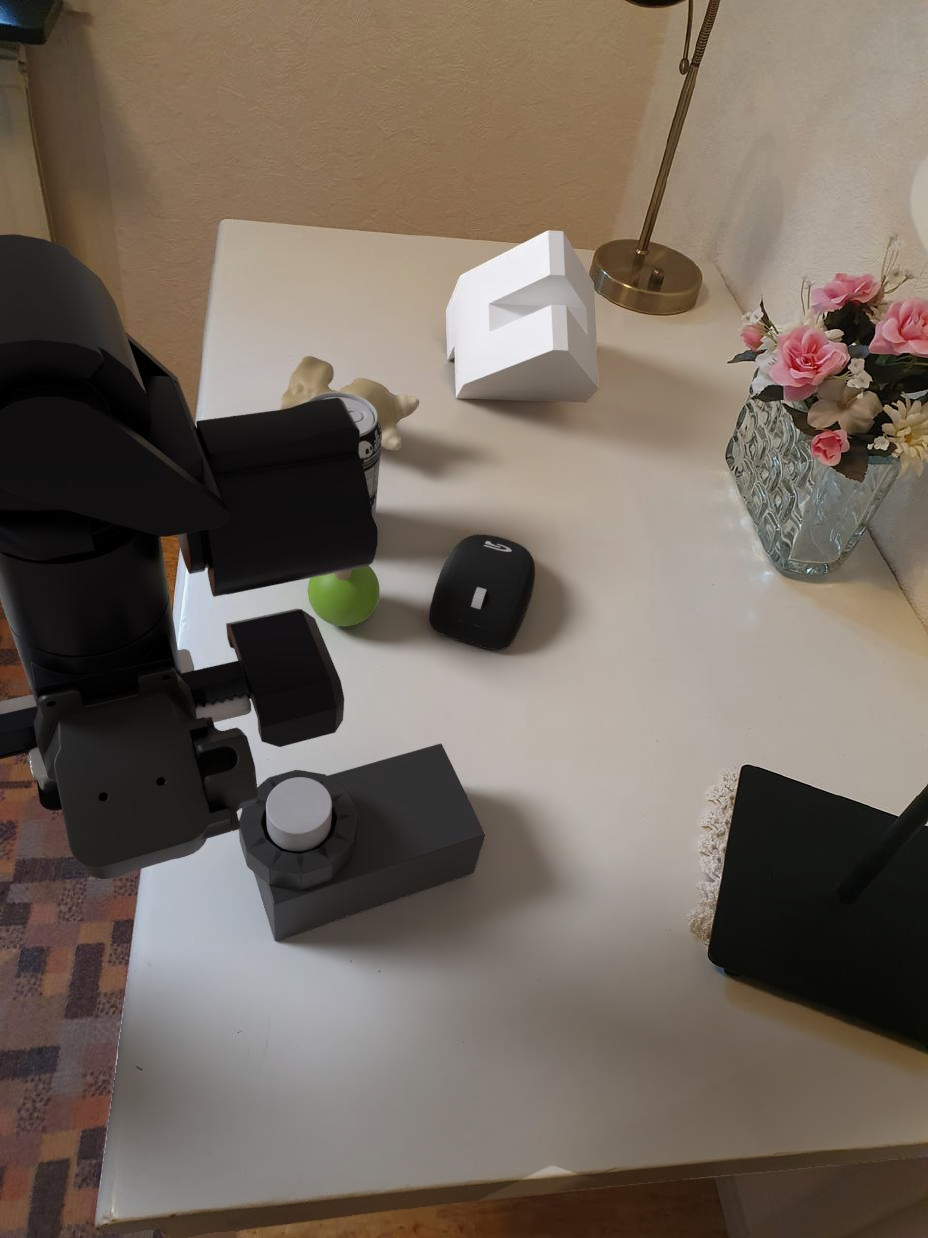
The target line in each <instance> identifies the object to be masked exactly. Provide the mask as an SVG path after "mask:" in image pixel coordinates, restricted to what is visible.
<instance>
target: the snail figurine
mask: <svg viewBox="0 0 928 1238" xmlns="http://www.w3.org/2000/svg"><path fill="white" fill-rule="evenodd" d="M307 585H308V586H307V596H308V601H309V604H310V607H311V608H312V610H313V611H314V613H315V614H316V615H317V616H318V617H319V618H320V619H321V620H323V621H324V622H326V623H328V624H330V625H333V626H336V627H350V626H351V627H352V626H355V625H358V624H360V623H362V622H364V621H365V620H366V619H368V618H369V617H370V616H371V615H372V614H373V612H374V611H375V609H376V608H377V605H378V603H379V599H380V591H381V590H380V589H381V588H380V583H379V578H378V577H377V574H376V573H375V571H374V569H373V568H372V567H371V565H369V566H367V567H362V568H357V569H352V570H347V571H342V572H337V573H332V574H327V575H322V576H317V577H312V578H309V580H308V583H307Z"/></svg>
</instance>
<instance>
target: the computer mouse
mask: <svg viewBox="0 0 928 1238" xmlns="http://www.w3.org/2000/svg"><path fill="white" fill-rule="evenodd" d="M535 579H536V564H535V560H534V558H533V555H532V554H531V552H530V551H529V550H528V549H527V548H526V547H524V546H523V545H522V544H519V543H518V542H516V541H514V540H510V539H507V538H505V537H500V536H497V535H496V536H495V535H492V534H479V533H478V534H472V535H469V536H466V537H465V538H463V539H461V540H460V541H459V542H458V543H456V545H455V546H454V547H453V548H452V549H451V550H450V552H449V553H448V555H447V557H446V559H445V561H444V563H443V565H442V568H441V570H440V573H439V575H438V579H437V581H436V584H435V586H434V587H435V588H434V590H433V594H432V598H431V603H430V607H429V613H428V622H429V624H430V627H431V628H432V629H433V630H434V631H435V632H437V633H439V634H441V635H442V636H445V637H447V638H449V639H453V640H456V641H459V642H463V643H465V644H469V645H472V646H476V647H480V648H483V649H487V650H488V649H489V650H505V649H507V648H509V647H510V646H511V645H512V643H513V642H514V641H515V638H516V637H517V635H518V633H519V631H520V629H521V627H522V624H523V622H524V619H525V617H526V614H527V611H528V608H529V606H530V602H531V599H532V595H533V590H534V586H535Z"/></svg>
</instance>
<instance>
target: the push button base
mask: <svg viewBox="0 0 928 1238" xmlns="http://www.w3.org/2000/svg"><path fill="white" fill-rule="evenodd" d="M297 777H304V778H310V779H313V780H315V781H317V782H319V783H320V784H322V785H323V786H324V787H325V788H326V789H327V791H328V792H329V794H330V796H331V800H332V816H331V827H330V831H329V833H328V835H327V837H326V838H325V839H324V840H323V842H321V843H320V844H319V845H318V846H316V847H314V848H312V849H310V850H306V851H297V852H296V851H289V850H286V849H283V848H281V847H280V846H278V845H277V844H276V843H275V842H274V841H273V840H272V839H271V837H270V836H269V833H268V830H267V819H266V802H267V799H268V796H269V794H270V793H271V791H272V790H273V789H274V788H275V787H276V786H277V785H278V784H280V783H281V782H283V781H285V780H288V779H291V778H297ZM257 790H258V797H257V801H256V802H255V804H254V805H251V806H247V807H244V808H241V813H240V817H239V818H238V819H239V824H240V829H239V830H238V837H239V843H240V844H239V845H240V847H241V850H242V854H243V857H244V860H245V864H246V867H247V868H248V869H249V870H250V871H251V872H253V876H254V877H255V882H256V884H257V887H258V891H259V894H260V897H261V900H262V904H263V907H264V911H265V915H266V917H267V920H268V921H267V922H268V924H269V927H270V930H271V934H272V937H273V941H275V942H278V941H281V940H284V939H287V938H290V937H293V936H295V935H298V934H301V933H304V932H307V931H311V930H313V929H316V928H319V927H322V926H325V925H327V924H330V923H332V922H336V921H339V920H343V919H345V918H348V917H350V916H353V915H357V914H359V913H362V912H364V911H365V912H366V911H368V910H371V909H374V908H377V907H379V906H383V905H385V904H389V903H391V902H394V901H398V900H401V899H404V898H406V897H409V896H412V895H414V894H418V893H420V892H424V891H426V890H428V889H432V888H435V887H438V886H441V885H443V884H446V883H450V882H453V881H455V880H458V879H461V878H464V877H467V876H470V875H473V874H474V873H475V871H476V868H477V865H478V861H479V859H480V858H479V857H480V854H481V851H482V848H483V845H484V841H485V838H486V832H485V830H484V828H483V825H482V824H481V822H480V820H479V817H478V816H477V813H476V811H475V810H474V807H473V805H472V803H471V801H470V799H469V797H468V795H467V793H466V791H465V789H464V787H463V785H462V783H461V781H460V779H459V777H458V774H457V773H456V770H455V769H454V766H453V764H452V761H451V760H450V758H449V756H448V753H447V752H446V750H445V748H444V746H443V744H442V743H437V744H434V745H431V746H426V747H423V748H420V749H415V750H412V751H409V752H406V753H402V754H399V755H395V756H391V757H388V758H385V759H381V760H378V761H374V762H370V763H366V764H363V765H360V766H356V767H352V768H350V769H345V770H342V771H339V772H335V773H332V774H328V775H327V774H325V773H319V772H314V771H307V770H301V769H293V770H290V771H287V772H283V773H279V774H276V775H273V776H268V777H267V778H266V779H265V780H263V782H261V784H259V785H257Z"/></svg>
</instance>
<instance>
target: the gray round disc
mask: <svg viewBox="0 0 928 1238" xmlns="http://www.w3.org/2000/svg"><path fill="white" fill-rule="evenodd" d="M331 816H332V800H331V796H330V794H329V792H328V791H327V789H326V788H325V787H324V786H323V785H322V784H320V783H319V782H317V781H315V780H313V779H310V778H304V777H297V778H291V779H288V780H285V781H283V782H281V783H280V784H278V785H277V786H276V787H275V788H274V789H273V790H272V791H271V793H270V794H269V796H268V799H267V802H266V819H267V830H268V833H269V836H270V837H271V839H272V840H273V841H274V842H275V843H276V844H277V845H278V846H280V847H281V848H283V849H286V850H289V851H296V852H297V851H306V850H310V849H312V848H314V847H316V846H318V845H319V844H320V843H321V842H323V840H324V839H325V838H326V837H327V835H328V833H329V831H330V827H331Z"/></svg>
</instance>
